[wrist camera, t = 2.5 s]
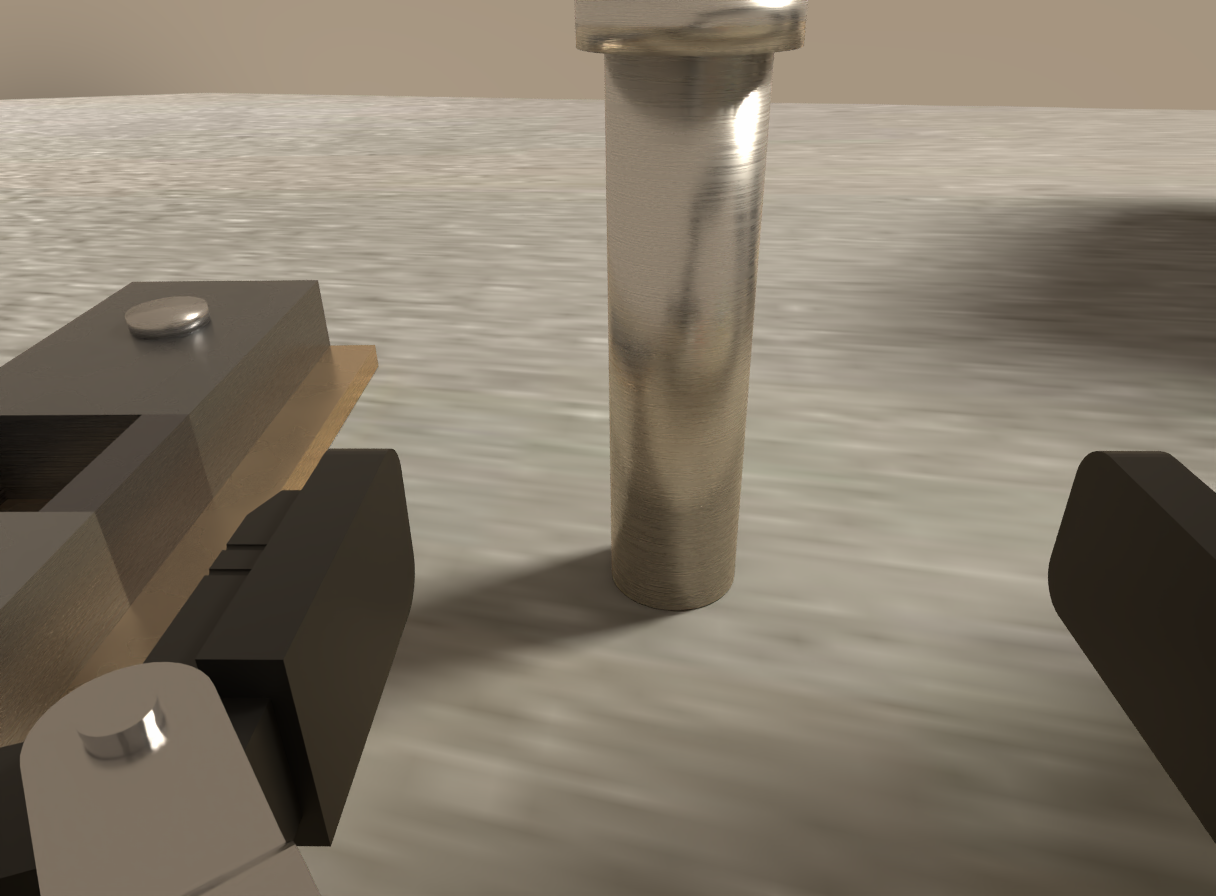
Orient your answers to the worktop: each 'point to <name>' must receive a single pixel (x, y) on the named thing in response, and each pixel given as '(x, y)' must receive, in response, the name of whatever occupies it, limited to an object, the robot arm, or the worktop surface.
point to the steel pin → (682, 274)
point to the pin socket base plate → (149, 465)
